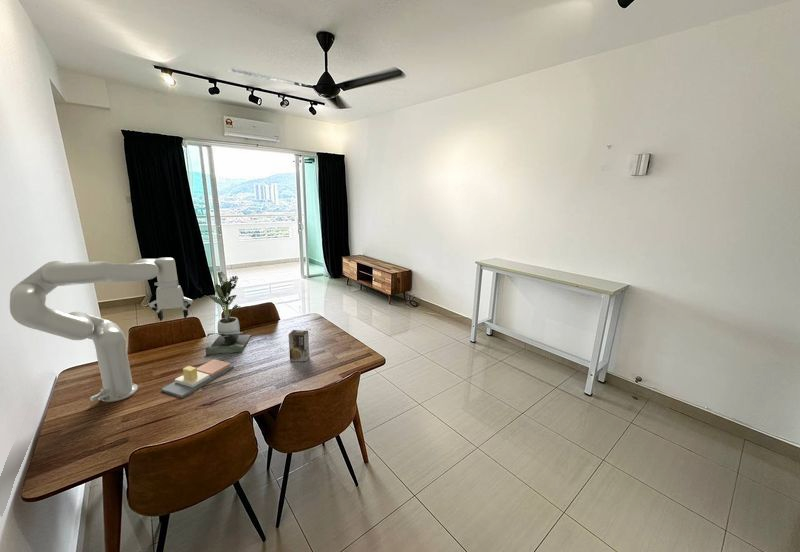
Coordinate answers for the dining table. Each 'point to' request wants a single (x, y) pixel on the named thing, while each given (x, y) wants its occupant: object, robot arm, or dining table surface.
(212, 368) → the board
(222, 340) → the potted plant
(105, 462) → the dining table surface
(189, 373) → the butter dish
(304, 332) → the coffee box
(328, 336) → the dining table surface
